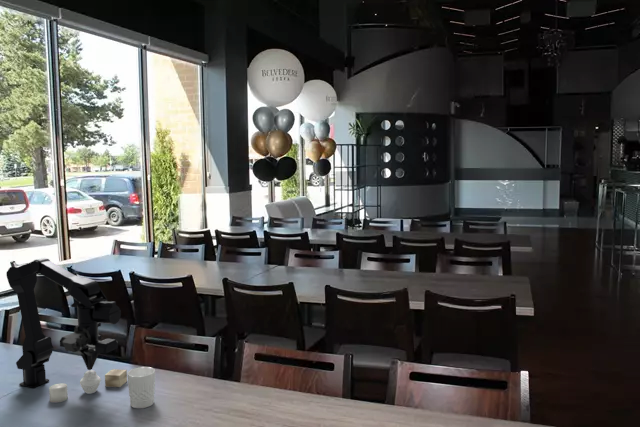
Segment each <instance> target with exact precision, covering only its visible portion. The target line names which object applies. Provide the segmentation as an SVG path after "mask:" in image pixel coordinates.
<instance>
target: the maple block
mask: <svg viewBox="0 0 640 427" xmlns="http://www.w3.org/2000/svg"><path fill="white" fill-rule="evenodd" d="M127 373H128V370H127V369H117V368H115V369H114V368H112V369H111V370H109V371H108V372H107V373H105V375H104V386H105V387H107V388H108V387H111V388H112V387H113V388H121V387H122V386H123V385H125V383H128V375H127Z"/></svg>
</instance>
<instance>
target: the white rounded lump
mask: <svg viewBox="0 0 640 427" xmlns="http://www.w3.org/2000/svg"><path fill="white" fill-rule="evenodd" d="M48 388H49V389H48V390H49V391H48V392H49V393H48V394H49V395H48V396H49V402H50V403H54V404H55V403H57V404H58V403H63V402H64V401H66V400H67V399H68V398H69V397H68V385H67V384H66V383H62V382H61V383H56V384H52V385H51V386H49V387H48Z"/></svg>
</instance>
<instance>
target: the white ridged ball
mask: <svg viewBox="0 0 640 427" xmlns="http://www.w3.org/2000/svg"><path fill="white" fill-rule="evenodd" d="M101 381H102V379H101V377H100V376H99V375H98V374H97V372H96V370H93V369H91V370H87V371H85V372H84V374H83V376H82V378H81V379H80V381H79V384H80V387H81V388H82V390H83V391H84V393H85V394H88V395H89V394H94V393H96V392H97V391H98V389H99V387H100V384H101Z"/></svg>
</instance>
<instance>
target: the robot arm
mask: <svg viewBox="0 0 640 427" xmlns="http://www.w3.org/2000/svg"><path fill="white" fill-rule="evenodd" d="M39 274H40V275H42V276H43V277H45V278H47V279H49V280H50V281H52V282H54V283H56V284H58V285H59V286H61V287H63V288H64V289H66V291H67V292H68V294H69V296H71V297H72V298H73V299H74V300H75V301H74V302H73V303H71V305H70V306H71V307H72V308H77V325H74V326H75V327H74V328H73V329H74V331H73V333H70V334H67V335H64V336H61V338H60V339H59V347H61V348H62V347H63V348H64V350H65V351H66V352H72V353H76V352H77V353H78V354H80V356H81V358H82V360H83V362H84V365H85V366H86V368H87V371H89V370H93V367H94V365H95V363H96V362H97V361H96V360H97V358H98V356H99V355H100V354H102V355H103V354H105V355H106V354H108V353H110V352H113V351H114V350H117V349H118V348H119V342H118V340H116V339H114V338H113V339H112V338H105V339H103V340H101V339H102V335H100V334H99V328H100V327H101V326H102V324H108V325H116V324H117V323H119V321H120V319H121V316H122V310H121V308H120V307H119V305H117V302H116V301H112V300H111V301H108V298H107V296H106V295H105V293H104V292H103V290H102V288H101V287H100V284H99V282H98V281H97V280H94V279H91V278H90V277H89V278H88V277H85V276H84V277H83V276H78V275H75V274H73V273H72V272H70V271H68V270H66V269H65V268H63V267H61V266H59V265H58V264H56V263H54V262H52V261H51V259H49V258H46V257H41V258H37V259H34V260H32V261H30V262H27V263H22V264H17V265H13V266H10V267H9V268H8V269H7V271H6V274H5V276H6V278H7V281H8V286H9V288H11V289H12V290H13V292H15V293H16V296H17V301H18V306H19V310H20V311H19V312H20V315H21V316H20V317H21V321H22V326H23V330H24V336H25V337H24V341H23V344H22V346H21V347H22V355H21V356H20V357H19V359H18V360H17V361H16V362H15V364H16V368H17V369H18V370H22V379H23V381H21V382H20V383H19V386H20V387H21V386H22V387H27V388H31V389H35V388H37V387H39V386H41V385H44V384H46V383H48V382H50V379H48V378H46V377H47V376H46V369H45V367H46V366H45V363H48V362H49V361H50V359H51V356H52V354H53V349H54V346H53V342H52V337H51V336H46V335H45V333H43V329H42V324H41V319H40V314H39V309H38V304H37V298H36V294H35V287H36V285H37V282H38V278H37V277H38V275H39Z"/></svg>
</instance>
